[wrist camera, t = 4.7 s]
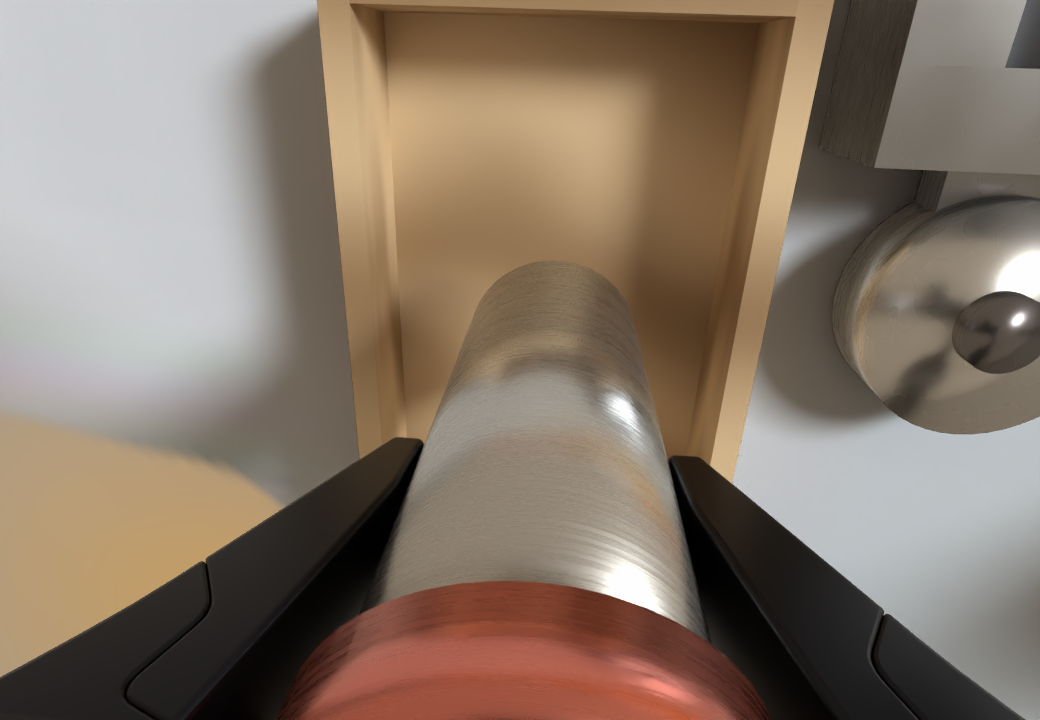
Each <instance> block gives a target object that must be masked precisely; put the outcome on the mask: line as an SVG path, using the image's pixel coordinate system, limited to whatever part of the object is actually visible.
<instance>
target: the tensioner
mask: <svg viewBox="0 0 1040 720" xmlns="http://www.w3.org/2000/svg"><path fill="white" fill-rule="evenodd" d="M1026 2H1027V0H852V1H851V5H850V10H849V14H848V19H847V23H846V28H845V32H844V37H843V41H842V46H841V50H840V55H839V59H838V64H837V68H836V73H835V77H834V82H833V86H832V91H831V95H830V100H829V104H828V109H827V113H826V118H825V122H824V127H823V131H822V136H821V140H820V145H819V148H820V149H823V150H825V151H828V152H831V153H834V154H837V155H839V156H842V157H845V158H848V159H851V160H853V161H856V162H859V163H862V164H865V165H867V166H870V167H873V168H888V169H912V170H924V171H923V174H922V178H921V181H920V184H919V188H918V191H917V195H916V198H915V201H914V203H912V204H910V205H908V206H906V207H904V208H902V209H901V210H899V211H898V212H896V213H895V214H893V215H892V216H890V217H889V218H888V219H886V220H885V221H884V222H883V223H881V224H880V225H879V226H878V227H876V228H875V229H874V230H873V231H872V232H871V233H870V234H869V235H868V236H867V237H866V238H865V239H864V241H863V242H862V243H861V244H860V246H859V247H858V248H857V249H856V251H855V252H854V253H853V255H852V256H851V258H850V260H849V261H848V263H847V264H846V266H845V268H844V270H843V272H842V275H841V277H840V279H839V282H838V285H837V288H836V291H835V295H834V300H833V306H832V325H833V332H834V336H835V340H836V343H837V345H838V348H839V350H840V352H841V354H842V356H843V357H844V359H845V360H846V362H847V363H848V364H849V365H850V367H851V368H852V369H853V370H854V371H855V372H856V373H857V374H858V375H859V376H860V378H861V379H862V380H863V381H864V382H865V383H866V384H867V385H868V386H869V387H870V388H871V390H872V391H873V392H874V393H875V394H876V395H877V396H878V397H879V398H880V399H881V400H882V402H883V403H884V404H885V405H886V406H887V407H888V408H889V409H890V410H891V411H893V412H894V413H895V414H897V415H898V416H899V417H901V418H902V419H904V420H906V421H908V422H910V423H912V424H914V425H916V426H919V427H922V428H924V429H928V430H932V431H936V432H941V433H949V434H978V433H988V432H993V431H998V430H1003V429H1006V428H1010V427H1013V426H1016V425H1020V424H1022V423H1025V422H1027V421H1030V420H1032V419H1035V418H1037V417H1039V416H1040V69H1027V68H1005V66H1006V63H1007V60H1008V57H1009V54H1010V51H1011V48H1012V45H1013V42H1014V39H1015V36H1016V33H1017V30H1018V26H1019V23H1020V20H1021V17H1022V14H1023V11H1024V8H1025V5H1026Z"/></svg>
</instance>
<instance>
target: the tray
mask: <svg viewBox="0 0 1040 720" xmlns="http://www.w3.org/2000/svg"><path fill="white" fill-rule="evenodd" d="M833 4H834V0H317V7H318V17H319V28H320V39H321V50H322V60H323V71H324V82H325V93H326V103H327V114H328V125H329V136H330V147H331V157H332V168H333V179H334V190H335V200H336V211H337V222H338V233H339V244H340V254H341V265H342V276H343V287H344V297H345V308H346V319H347V330H348V340H349V351H350V362H351V373H352V384H353V394H354V405H355V416H356V427H357V437H358V448H359V459H361V458H363V457H364V456H366V455H367V454H369V453H370V452H372V451H374V450H375V449H377V448H378V447H380V446H381V445H383V444H384V443H386V442H388V441H389V440H391V439H393V438H395V437H404V438H418V439H421V440H422V441H423V443H424V444H425V441H426V439H427V436H428V433H429V431H430V428H431V426H432V423H433V420H434V418H435V415H436V412H437V410H438V407H439V405H440V402H441V399H442V397H443V394H444V392H445V389H446V386H447V384H448V381H449V378H450V376H451V373H452V371H453V368H454V365H455V363H456V360H457V358H458V355H459V352H460V350H461V347H462V345H463V342H464V339H465V337H466V334H467V331H468V329H469V326H470V324H471V321H472V318H473V316H474V313H475V311H476V308H477V306H478V304H479V302H480V300H481V298H482V297H483V295H484V294H485V293H486V291H487V290H488V289H489V288H490V287H491V286H492V285H493V284H494V283H495V282H496V281H497V280H498V279H499V278H501V277H502V276H503V275H505V274H507V273H508V272H510V271H512V270H513V269H516V268H518V267H521V266H523V265H526V264H530V263H533V262H540V261H555V260H557V261H566V262H571V263H575V264H579V265H582V266H585V267H587V268H590V269H592V270H594V271H595V272H597V273H599V274H601V275H602V276H603V277H605V278H606V279H607V280H609V281H610V282H611V283H612V284H613V285H614V286H615V287H616V288H617V289H618V290H619V292H620V293H621V294H622V296H623V297H624V299H625V300H626V302H627V304H628V306H629V308H630V310H631V313H632V316H633V320H634V324H635V328H636V332H637V336H638V340H639V344H640V348H641V352H642V357H643V361H644V365H645V369H646V373H647V377H648V381H649V385H650V390H651V394H652V398H653V402H654V406H655V410H656V414H657V418H658V422H659V427H660V431H661V435H662V439H663V443H664V447H665V451H666V455H667V460H669V458H670V457H671V456H673V455H681V456H696V457H700V458H701V459H703V460H704V461H705V462H706V463H708V464H709V465H710V466H711V467H712V468H714V469H715V470H716V471H717V472H719V473H720V474H721V475H722V476H723V477H725V478H726V479H727V480H728V481H729V482H731V483H732V481H733V477H734V472H735V467H736V462H737V458H738V453H739V448H740V444H741V439H742V434H743V429H744V425H745V420H746V415H747V411H748V406H749V401H750V396H751V392H752V387H753V382H754V377H755V373H756V368H757V363H758V359H759V354H760V349H761V344H762V340H763V335H764V330H765V326H766V321H767V316H768V311H769V307H770V302H771V297H772V292H773V288H774V283H775V278H776V274H777V269H778V264H779V259H780V255H781V250H782V245H783V241H784V236H785V231H786V226H787V222H788V217H789V212H790V207H791V203H792V198H793V193H794V189H795V184H796V179H797V174H798V170H799V165H800V160H801V156H802V151H803V146H804V141H805V137H806V132H807V127H808V122H809V118H810V113H811V108H812V104H813V99H814V94H815V89H816V85H817V80H818V75H819V71H820V66H821V61H822V56H823V52H824V47H825V42H826V37H827V33H828V28H829V23H830V19H831V14H832V9H833Z"/></svg>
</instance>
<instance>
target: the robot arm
mask: <svg viewBox="0 0 1040 720" xmlns="http://www.w3.org/2000/svg"><path fill="white" fill-rule="evenodd" d="M423 446H424V443H423V441H422V440H421V439H418V438H404V437H395V438H393V439H391V440H389V441H388V442H386V443H384V444H383V445H381V446H380V447H378V448H377V449H375V450H374V451H372V452H370V453H369V454H367V455H366V456H364V457H363V458H361V459H360V460H358V461H356V462H355V463H353V464H352V465H350V466H349V467H347V468H346V469H344V470H342V471H341V472H339V473H338V474H336V475H335V476H333V477H332V478H330V479H328V480H327V481H325V482H324V483H322V484H321V485H319V486H317V487H316V488H314V489H313V490H311V491H310V492H308V493H307V494H305V495H303V496H302V497H300V498H299V499H297V500H296V501H294V502H293V503H291V504H289V505H288V506H286V507H285V508H283V509H282V510H280V511H279V512H277V513H275V514H274V515H272V516H271V517H269V518H268V519H266V520H265V521H263V522H262V523H260V524H258V525H257V526H255V527H254V528H252V529H251V530H249V531H247V532H246V533H244V534H243V535H241V536H240V537H238V538H237V539H235V540H233V541H232V542H230V543H229V544H227V545H226V546H224V547H223V548H221V549H219V550H218V551H216V552H215V553H213V554H212V555H210V556H208V557H207V558H206V563H205V562H203V561H201V562H199V563H197V564H196V565H194V566H193V567H191V568H189V569H188V570H186V571H185V572H183V573H182V574H180V575H179V576H177V577H176V578H174V579H172V580H171V581H169V582H167V583H166V584H164V585H162V586H161V587H159V588H158V589H156V590H154V591H153V592H151V593H149V594H148V595H146V596H145V597H143V598H141V599H140V600H138V601H137V602H135V603H133V604H132V605H130V606H128V607H126V608H125V609H123V610H121V611H119V612H117V613H116V614H114V615H112V616H110V617H109V618H107V619H105V620H103V621H102V622H100V623H98V624H96V625H95V626H93V627H91V628H89V629H88V630H86V631H84V632H82V633H80V634H79V635H77V636H75V637H73V638H71V639H70V640H68V641H66V642H64V643H62V644H60V645H59V646H57V647H55V648H53V649H51V650H49V651H48V652H46V653H44V654H42V655H40V656H38V657H37V658H35V659H33V660H31V661H29V662H28V663H26V664H24V665H22V666H20V667H18V668H17V669H15V670H13V671H11V672H9V673H7V674H6V675H4V676H2V677H0V720H275V719H276V717H277V714H278V712H279V710H280V708H281V706H282V703H283V701H284V699H285V697H286V694H287V692H288V690H289V688H290V686H291V683H292V682H293V680H294V678H295V676H296V674H297V673H298V671H299V669H300V667H301V665H302V664H303V662H304V661H305V660H306V659H307V658H308V656H309V655H310V654H311V653H312V652H313V650H314V649H315V648H316V647H317V646H318V644H320V643H321V642H322V641H323V640H324V639H325V638H327V637H328V636H329V635H330V634H331V633H333V632H334V631H335V630H336V629H337V628H338V627H340V626H342V625H343V624H345V623H347V622H348V621H350V620H351V619H353V618H355V617H356V616H358V615H359V614H360V611H361V608H362V606H363V603H364V600H365V598H366V595H367V593H368V590H369V587H370V585H371V582H372V580H373V577H374V574H375V572H376V569H377V567H378V564H379V561H380V559H381V556H382V553H383V551H384V548H385V546H386V543H387V540H388V538H389V535H390V533H391V530H392V527H393V525H394V522H395V520H396V517H397V514H398V512H399V509H400V506H401V504H402V501H403V499H404V496H405V493H406V491H407V488H408V486H409V483H410V480H411V478H412V475H413V473H414V470H415V467H416V465H417V462H418V459H419V457H420V454H421V452H422V449H423ZM668 464H669V468H670V472H671V476H672V480H673V484H674V488H675V492H676V497H677V501H678V505H679V509H680V513H681V517H682V521H683V525H684V530H685V534H686V538H687V542H688V546H689V550H690V554H691V558H692V562H693V567H694V571H695V575H696V579H697V583H698V587H699V591H700V595H701V600H702V604H703V608H704V612H705V616H706V620H707V624H708V628H709V632H710V637H711V641H712V645H713V646H714V647H715V648H716V649H718V650H719V651H720V652H721V653H723V654H724V655H725V656H726V657H727V658H729V659H730V660H731V661H732V662H733V663H734V664H735V666H736V667H737V668H738V669H739V670H740V671H741V672H742V673H743V674H744V675H745V676H746V677H747V679H748V680H749V681H750V682H751V684H752V685H753V687H754V688H755V690H756V691H757V693H758V694H759V696H760V697H761V699H762V700H763V702H764V704H765V706H766V708H767V711H768V713H769V715H770V718H771V720H1025V719H1023V718H1022V717H1021V716H1019V715H1018V714H1016V713H1015V712H1014V711H1012V710H1011V709H1010V708H1008V707H1007V706H1006V705H1004V704H1003V703H1002V702H1000V701H999V700H998V699H996V698H995V697H994V696H992V695H991V694H990V693H988V692H987V691H986V690H984V689H983V688H982V687H980V686H979V685H978V684H976V683H975V682H974V681H972V680H971V679H969V678H968V677H967V676H965V675H964V674H963V673H961V672H960V671H959V670H958V669H956V668H955V667H954V666H953V665H951V664H950V663H949V662H948V661H946V660H945V659H944V658H943V657H941V656H940V655H939V654H938V653H936V652H935V651H934V650H933V649H931V648H930V647H929V646H928V645H926V644H925V643H924V642H923V641H921V640H920V639H919V638H918V637H916V636H915V635H914V634H913V633H911V632H910V631H909V630H908V629H907V628H905V627H904V626H903V625H902V624H901V623H899V622H898V621H897V620H896V619H895V618H893V617H892V616H891V615H889V614H885V615H884V610H883V609H882V608H881V607H880V606H879V605H877V604H876V603H875V602H874V601H873V600H871V599H870V598H869V597H868V596H867V595H865V594H864V593H863V592H862V591H861V590H859V589H858V588H857V587H856V586H855V585H853V584H852V583H851V582H850V581H849V580H847V579H846V578H845V577H844V576H843V575H841V574H840V573H839V572H838V571H837V570H835V569H834V568H833V567H832V566H830V565H829V564H828V563H827V562H826V561H824V560H823V559H822V558H821V557H820V556H818V555H817V554H816V553H815V552H814V551H812V550H811V549H810V548H809V547H808V546H806V545H805V544H804V543H803V542H802V541H800V540H799V539H798V538H797V537H796V536H794V535H793V534H792V533H791V532H790V531H788V530H787V529H786V528H785V527H784V526H782V525H781V524H780V523H779V522H778V521H776V520H775V519H774V518H773V517H771V516H770V515H769V514H768V513H767V512H765V511H764V510H763V509H762V508H761V507H759V506H758V505H757V504H756V503H755V502H753V501H752V500H751V499H750V498H749V497H747V496H746V495H745V494H744V493H743V492H741V491H740V490H739V489H738V488H737V487H735V486H734V485H733V484H732V483H731V482H729V481H728V480H727V479H726V478H725V477H723V476H722V475H721V474H720V473H719V472H717V471H716V470H715V469H714V468H712V467H711V466H710V465H709V464H708V463H706V462H705V461H704V460H703V459H701V458H700V457H696V456H681V455H673V456H671V457H670V458H669V460H668ZM883 615H884V616H883Z"/></svg>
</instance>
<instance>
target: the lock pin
mask: <svg viewBox="0 0 1040 720" xmlns="http://www.w3.org/2000/svg"><path fill="white" fill-rule="evenodd" d="M275 720H771V718H770V715H769V713H768V711H767V708H766V706H765V704H764V702H763V700H762V699H761V697H760V696H759V694H758V693H757V691H756V690H755V688H754V687H753V685H752V684H751V682H750V681H749V680H748V679H747V677H746V676H745V675H744V674H743V673H742V672H741V671H740V670H739V669H738V668H737V667H736V666H735V664H734V663H733V662H732V661H731V660H730V659H729V658H727V657H726V656H725V655H724V654H723V653H721V652H720V651H719V650H718V649H716V648H715V647H714V646H713V645H712V641H711V637H710V632H709V628H708V624H707V620H706V616H705V612H704V608H703V604H702V600H701V595H700V591H699V587H698V583H697V579H696V575H695V571H694V567H693V562H692V558H691V554H690V550H689V546H688V542H687V538H686V534H685V530H684V525H683V521H682V517H681V513H680V509H679V505H678V501H677V497H676V492H675V488H674V484H673V480H672V476H671V472H670V468H669V464H668V460H667V455H666V451H665V447H664V443H663V439H662V435H661V431H660V427H659V422H658V418H657V414H656V410H655V406H654V402H653V398H652V394H651V390H650V385H649V381H648V377H647V373H646V369H645V365H644V361H643V357H642V352H641V348H640V344H639V340H638V336H637V332H636V328H635V324H634V320H633V316H632V313H631V310H630V308H629V306H628V304H627V302H626V300H625V299H624V297H623V296H622V294H621V293H620V292H619V290H618V289H617V288H616V287H615V286H614V285H613V284H612V283H611V282H610V281H609V280H607V279H606V278H605V277H603V276H602V275H601V274H599V273H597V272H595V271H594V270H592V269H590V268H587V267H585V266H582V265H579V264H575V263H571V262H566V261H557V260H555V261H540V262H533V263H530V264H526V265H523V266H521V267H518V268H516V269H513V270H512V271H510V272H508V273H507V274H505V275H503V276H502V277H501V278H499V279H498V280H497V281H496V282H495V283H494V284H493V285H492V286H491V287H490V288H489V289H488V290H487V291H486V293H485V294H484V295H483V297H482V298H481V300H480V302H479V304H478V306H477V308H476V311H475V313H474V316H473V318H472V321H471V324H470V326H469V329H468V331H467V334H466V337H465V339H464V342H463V345H462V347H461V350H460V352H459V355H458V358H457V360H456V363H455V365H454V368H453V371H452V373H451V376H450V378H449V381H448V384H447V386H446V389H445V392H444V394H443V397H442V399H441V402H440V405H439V407H438V410H437V412H436V415H435V418H434V420H433V423H432V426H431V428H430V431H429V433H428V436H427V439H426V441H425V444H424V446H423V449H422V452H421V454H420V457H419V459H418V462H417V465H416V467H415V470H414V473H413V475H412V478H411V480H410V483H409V486H408V488H407V491H406V493H405V496H404V499H403V501H402V504H401V506H400V509H399V512H398V514H397V517H396V520H395V522H394V525H393V527H392V530H391V533H390V535H389V538H388V540H387V543H386V546H385V548H384V551H383V553H382V556H381V559H380V561H379V564H378V567H377V569H376V572H375V574H374V577H373V580H372V582H371V585H370V587H369V590H368V593H367V595H366V598H365V600H364V603H363V606H362V608H361V611H360V614H359V615H358V616H356V617H355V618H353V619H351V620H350V621H348V622H347V623H345V624H343V625H342V626H340V627H338V628H337V629H336V630H335V631H334V632H333V633H331V634H330V635H329V636H328V637H327V638H325V639H324V640H323V641H322V642H321V643H320V644H318V646H317V647H316V648H315V649H314V650H313V652H312V653H311V654H310V655H309V656H308V658H307V659H306V660H305V661H304V662H303V664H302V665H301V667H300V669H299V671H298V673H297V674H296V676H295V678H294V680H293V682H292V683H291V686H290V688H289V690H288V692H287V694H286V697H285V699H284V701H283V703H282V706H281V708H280V710H279V712H278V714H277V717H276V719H275Z"/></svg>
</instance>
